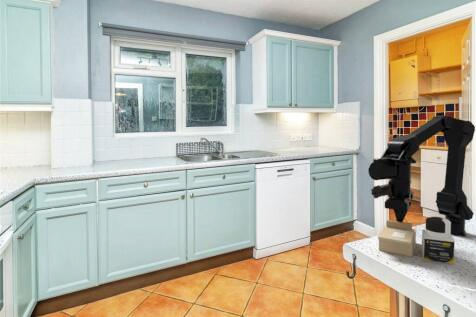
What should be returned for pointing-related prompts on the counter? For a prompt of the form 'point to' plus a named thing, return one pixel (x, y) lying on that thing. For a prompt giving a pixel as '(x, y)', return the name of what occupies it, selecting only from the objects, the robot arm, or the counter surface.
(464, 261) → the counter surface
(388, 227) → the lid
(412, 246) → the mailer box
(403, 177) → the robot arm
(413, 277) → the counter surface
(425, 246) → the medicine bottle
